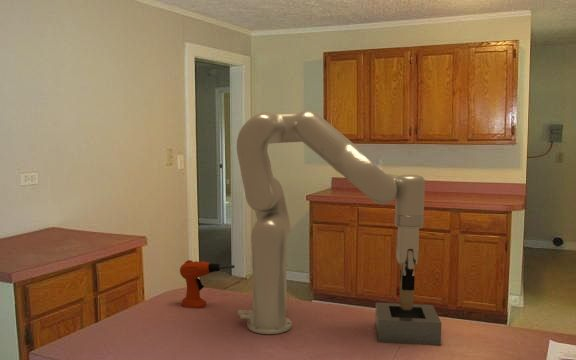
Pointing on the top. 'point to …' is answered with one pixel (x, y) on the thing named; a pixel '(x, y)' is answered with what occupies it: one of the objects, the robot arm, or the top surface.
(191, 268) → the toy drill
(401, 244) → the robot arm
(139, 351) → the top surface
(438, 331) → the socket block
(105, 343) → the top surface
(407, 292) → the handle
